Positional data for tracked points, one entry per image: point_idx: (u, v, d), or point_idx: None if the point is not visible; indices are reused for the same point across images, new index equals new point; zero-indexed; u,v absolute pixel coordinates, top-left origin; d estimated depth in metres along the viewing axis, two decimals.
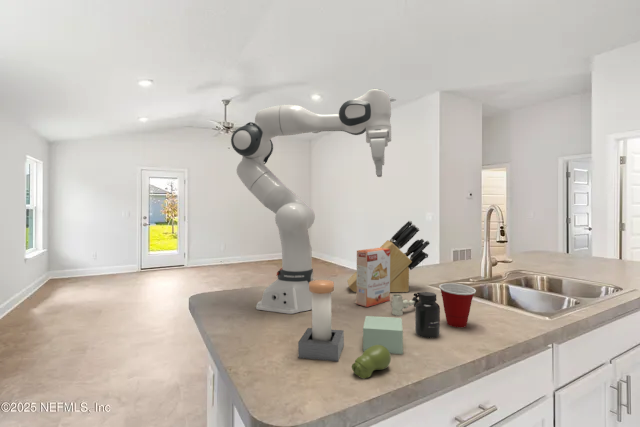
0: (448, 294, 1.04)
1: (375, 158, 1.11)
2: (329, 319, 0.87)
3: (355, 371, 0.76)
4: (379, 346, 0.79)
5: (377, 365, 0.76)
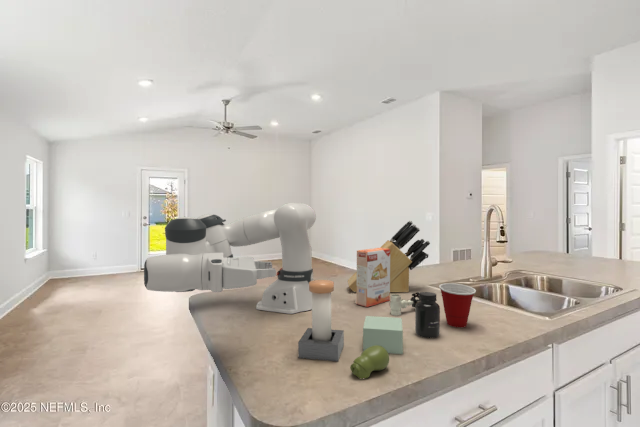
0: (448, 294, 1.04)
1: (255, 281, 0.75)
2: (329, 319, 0.87)
3: (353, 372, 0.76)
4: (378, 346, 0.79)
5: (375, 365, 0.75)
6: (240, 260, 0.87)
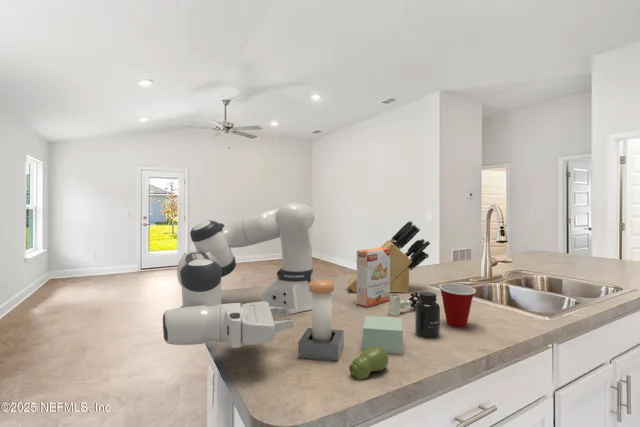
0: (448, 294, 1.04)
1: (273, 336, 0.76)
2: (329, 319, 0.87)
3: (352, 372, 0.75)
4: (377, 347, 0.78)
5: (374, 366, 0.75)
6: (256, 308, 0.88)
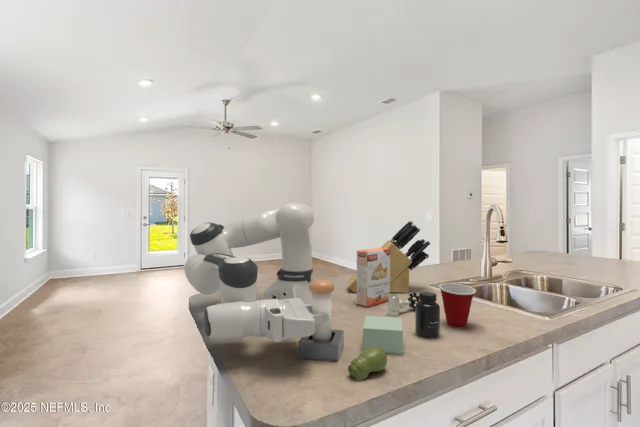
0: (448, 294, 1.04)
1: (314, 330, 0.78)
2: (329, 319, 0.87)
3: (351, 373, 0.75)
4: (375, 348, 0.78)
5: (373, 366, 0.75)
6: (291, 304, 0.90)
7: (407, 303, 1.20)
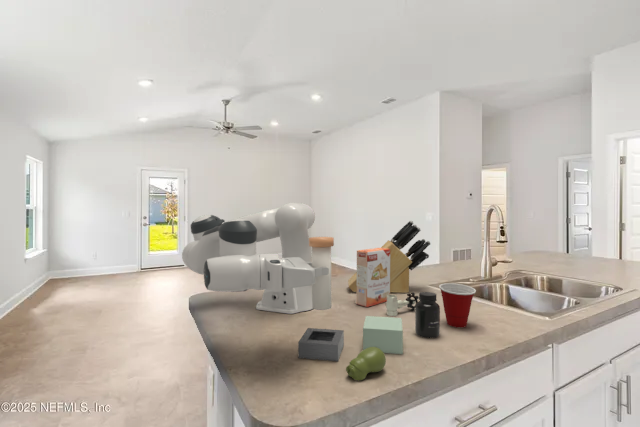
0: (448, 294, 1.04)
1: (314, 280, 0.78)
2: (329, 274, 0.87)
3: (349, 373, 0.75)
4: (374, 348, 0.78)
5: (371, 367, 0.75)
6: (291, 260, 0.90)
7: (405, 303, 1.20)
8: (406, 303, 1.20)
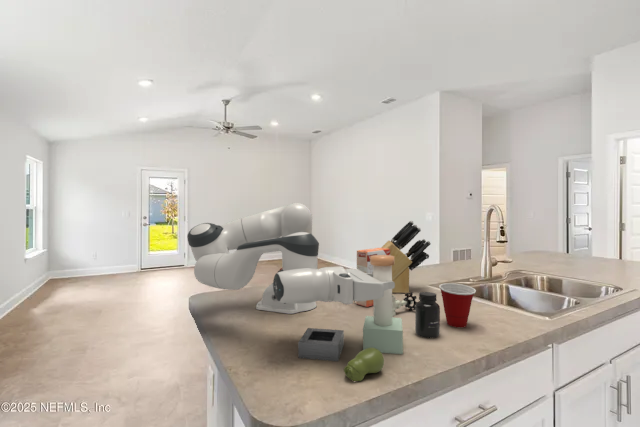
0: (448, 294, 1.04)
1: (383, 293, 0.82)
2: (391, 291, 0.90)
3: (347, 374, 0.75)
4: (372, 349, 0.77)
5: (369, 368, 0.74)
6: (352, 273, 0.94)
7: (403, 303, 1.19)
8: (404, 303, 1.20)
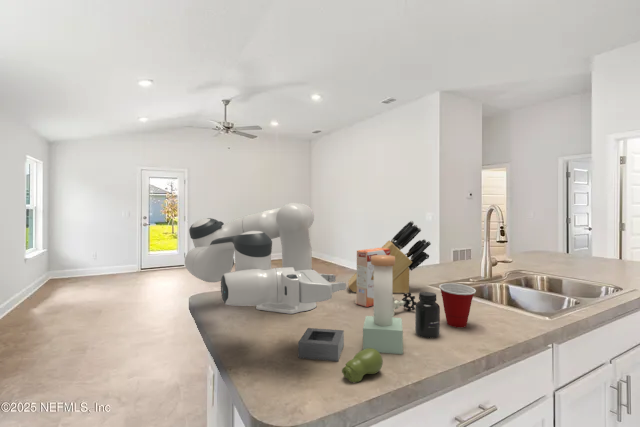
0: (448, 294, 1.04)
1: (330, 295, 0.79)
2: (391, 291, 0.90)
3: (345, 375, 0.74)
4: (371, 349, 0.77)
5: (368, 369, 0.74)
6: (306, 274, 0.91)
7: (402, 303, 1.19)
8: (403, 303, 1.20)
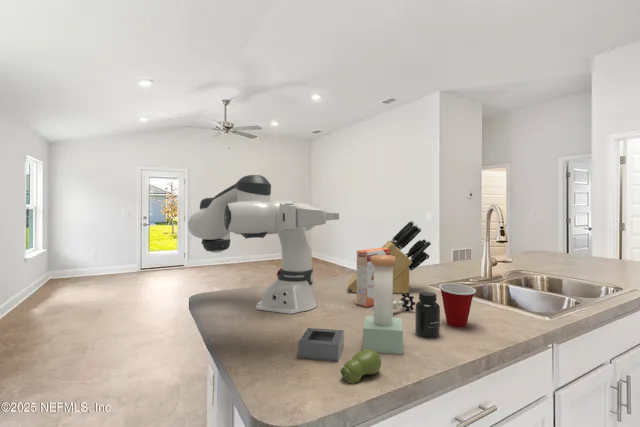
0: (448, 294, 1.04)
1: (325, 220, 0.86)
2: (391, 291, 0.90)
3: (344, 376, 0.74)
4: (369, 350, 0.77)
5: (366, 369, 0.73)
6: None
7: (401, 303, 1.19)
8: (401, 303, 1.19)
